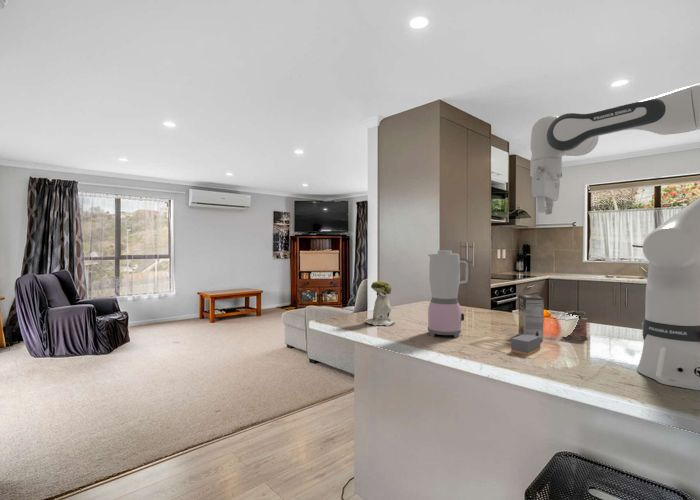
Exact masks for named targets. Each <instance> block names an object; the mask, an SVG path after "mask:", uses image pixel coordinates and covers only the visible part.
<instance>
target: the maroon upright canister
mask: <svg viewBox="0 0 700 500" xmlns="http://www.w3.org/2000/svg"><path fill="white" fill-rule="evenodd" d="M566 313H568V314H566ZM570 314H572V316H573V315H577V316H576V317H578V318H579V320H578V322H577V325H576V327H575V329H574V330H573V332H572V333H571V334H570V335H568V336H567V337H564V338H563V340H564V339H565V340H573V341H575V340H576V341H579V340H580V341H587V340H588V336H587V335H588V333H587V331H588V330H587V329H588V318H586V317H582V316H586V312H585V311H575V310H571V311H565V315H569V316H570Z"/></svg>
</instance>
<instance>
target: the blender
mask: <svg viewBox="0 0 700 500" xmlns="http://www.w3.org/2000/svg"><path fill="white" fill-rule="evenodd" d="M452 252H453V251H452V250H451V249H450V250H448V249H447V250H442V249H441V250H440V249H438V250H437V253H430V254H427V256H428V257H429V265H428V266H429V267H428V268H429V269H428V271H429V273H428V274H429V276H428V277H429V286H430V292H431V293H430V294H431V299H430V302H429V304H428V309H427V319H428V320H427V321H428V322H427V325H428V326H427V332H429V336H431V337H435V335H439V336H440V335H441V336H453V338H454V339H455V338H459V335H460V334H461V332H462V327H461V326H462V321H465V314H464V313H463V312H462V307H461V305H460V303H459V300H458V295H459V288H460V286H467V285H468V284H470V283H471V261H470V260H469V259H467V258H464V257H460V254H459V253H452ZM461 263H463V264H465V277H464V280H461Z"/></svg>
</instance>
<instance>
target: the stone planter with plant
mask: <svg viewBox="0 0 700 500" xmlns="http://www.w3.org/2000/svg"><path fill="white" fill-rule="evenodd" d="M370 288H371V289H372V290H373V291H374V292H375V293H376V298H375V301H374V305H373V311H372V312H373V313H372V317H369V318H366V319H365V322H366V323H367V324H371V325H374V326H382V325H386V326H385V327H389V326H392V324H393V325H395V324H396V320H395V319H393V318H392V319H391V318H390V313H391V312H392V307H391V305H392V304H391V302H390V300H389V296H388V295H390V294H391V293H392V286H391V284H390V283H389V282H387V281H384V280H376V281H373V282H372V283H371V286H370Z"/></svg>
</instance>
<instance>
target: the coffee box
mask: <svg viewBox="0 0 700 500" xmlns="http://www.w3.org/2000/svg"><path fill="white" fill-rule="evenodd" d="M544 302H545V298H543V297H541V296H540V295H537V294H518V336H520V335H522V334H528V335H534V336H539V337H540V342H543V341H544V316H545V314H544V309H545V303H544Z"/></svg>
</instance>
